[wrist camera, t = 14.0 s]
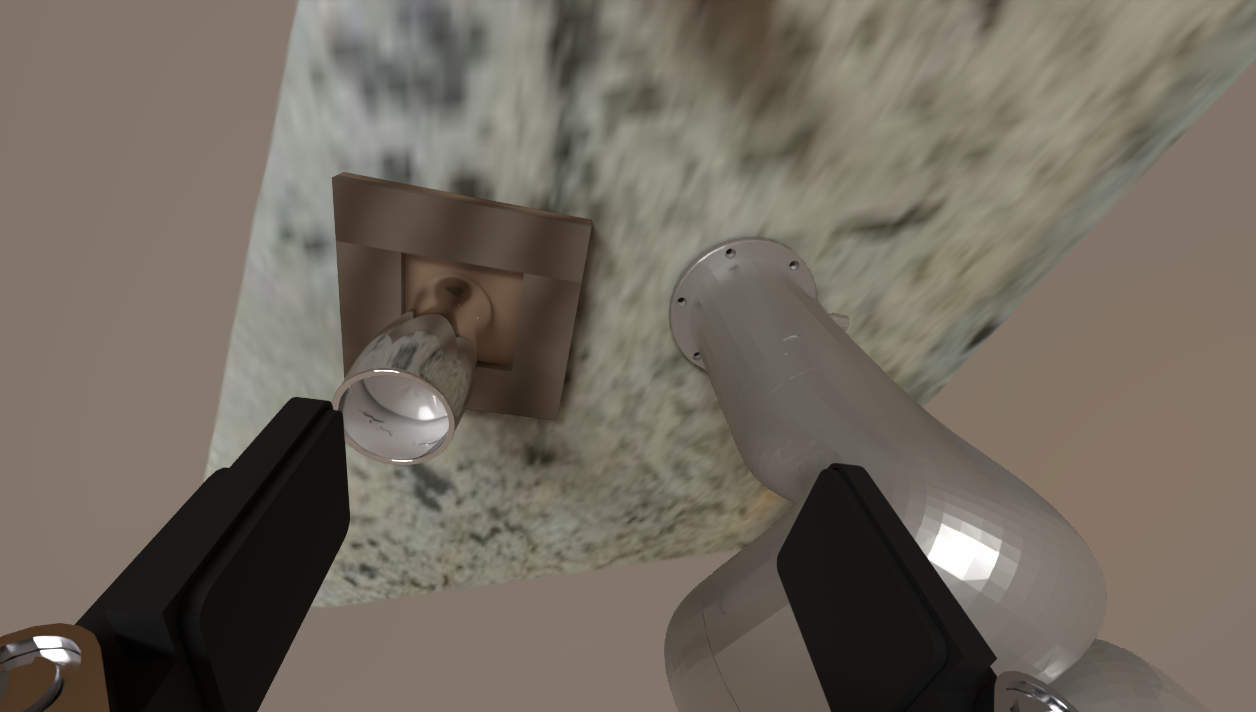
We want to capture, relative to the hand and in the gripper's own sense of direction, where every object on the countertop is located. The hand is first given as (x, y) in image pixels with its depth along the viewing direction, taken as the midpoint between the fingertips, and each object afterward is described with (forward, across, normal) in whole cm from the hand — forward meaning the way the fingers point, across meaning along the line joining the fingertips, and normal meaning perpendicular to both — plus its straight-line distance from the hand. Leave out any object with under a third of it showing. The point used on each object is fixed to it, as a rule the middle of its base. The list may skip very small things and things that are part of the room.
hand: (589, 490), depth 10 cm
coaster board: (+32, +8, +12) cm, 35 cm away
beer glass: (+32, +9, +12) cm, 35 cm away
